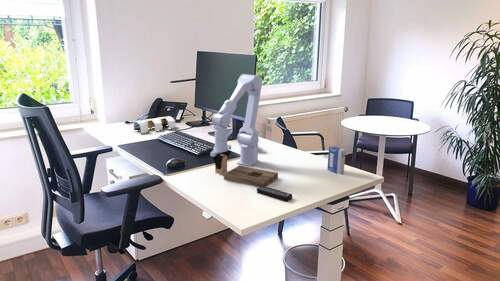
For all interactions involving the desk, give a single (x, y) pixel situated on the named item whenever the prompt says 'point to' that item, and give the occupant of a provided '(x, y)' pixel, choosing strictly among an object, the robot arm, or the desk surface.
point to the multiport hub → (274, 193)
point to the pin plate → (251, 176)
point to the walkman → (336, 160)
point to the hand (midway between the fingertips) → (221, 167)
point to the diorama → (153, 123)
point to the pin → (222, 166)
